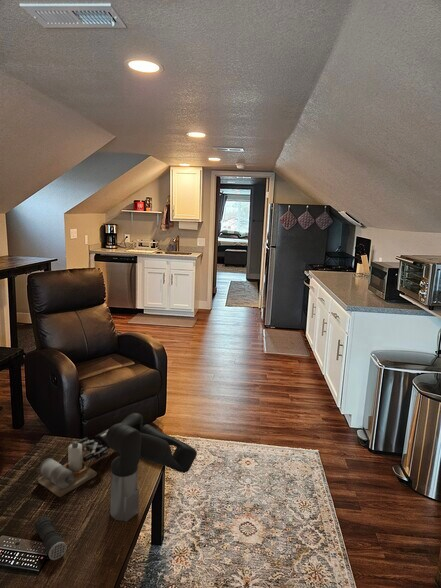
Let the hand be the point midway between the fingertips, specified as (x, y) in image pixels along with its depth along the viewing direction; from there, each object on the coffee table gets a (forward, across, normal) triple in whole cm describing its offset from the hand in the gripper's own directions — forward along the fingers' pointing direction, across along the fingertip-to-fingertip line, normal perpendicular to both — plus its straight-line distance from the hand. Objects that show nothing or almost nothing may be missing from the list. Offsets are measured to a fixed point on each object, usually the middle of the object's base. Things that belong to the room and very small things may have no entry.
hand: (76, 455), depth 167 cm
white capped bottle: (+1, 0, -6) cm, 6 cm away
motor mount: (+4, 0, -8) cm, 9 cm away
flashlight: (+28, -24, -8) cm, 38 cm away
